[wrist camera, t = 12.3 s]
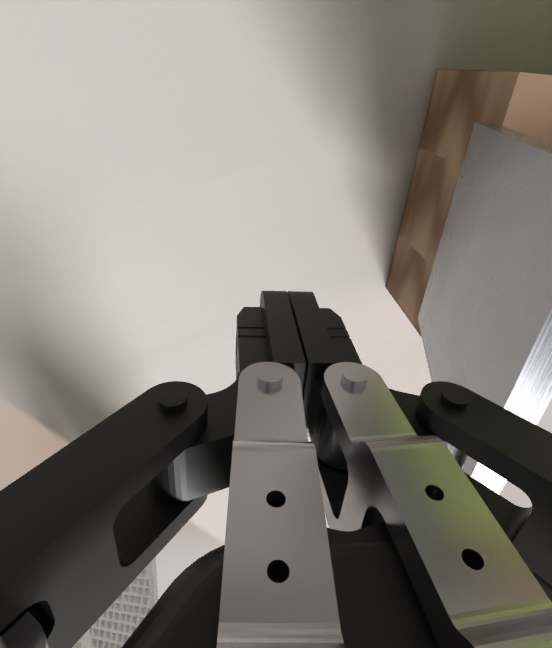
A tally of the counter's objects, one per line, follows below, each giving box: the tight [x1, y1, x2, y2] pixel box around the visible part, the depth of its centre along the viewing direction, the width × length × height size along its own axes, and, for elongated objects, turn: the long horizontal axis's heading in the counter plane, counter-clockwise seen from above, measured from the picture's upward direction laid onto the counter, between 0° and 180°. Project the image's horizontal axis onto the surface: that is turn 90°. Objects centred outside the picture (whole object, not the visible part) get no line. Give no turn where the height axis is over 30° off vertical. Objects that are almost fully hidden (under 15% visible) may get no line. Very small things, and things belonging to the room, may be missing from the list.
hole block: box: [386, 69, 552, 337], centre depth 25 cm, size 14×14×8 cm
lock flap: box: [418, 122, 552, 494], centre depth 16 cm, size 12×10×1 cm
